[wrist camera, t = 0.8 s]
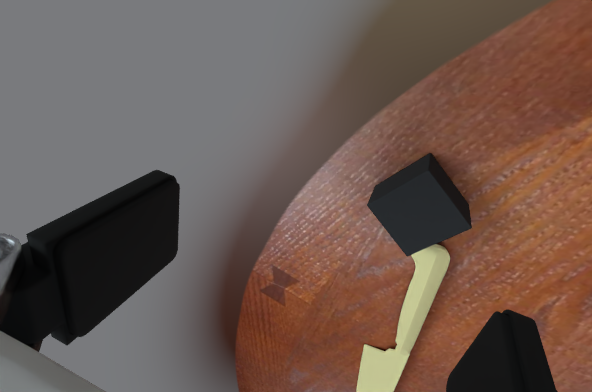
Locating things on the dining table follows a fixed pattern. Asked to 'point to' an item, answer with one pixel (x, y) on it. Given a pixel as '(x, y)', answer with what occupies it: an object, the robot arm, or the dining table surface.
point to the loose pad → (420, 206)
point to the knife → (405, 323)
